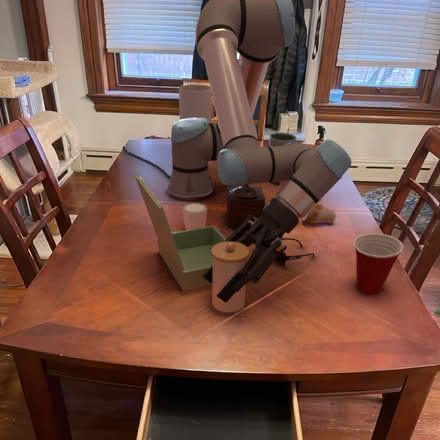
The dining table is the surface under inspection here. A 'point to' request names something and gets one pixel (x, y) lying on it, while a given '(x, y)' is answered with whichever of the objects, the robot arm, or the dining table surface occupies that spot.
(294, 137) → the grey pot
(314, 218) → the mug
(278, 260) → the sunglasses
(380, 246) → the plastic cup
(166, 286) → the dining table surface
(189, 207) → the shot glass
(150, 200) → the box lid
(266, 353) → the dining table surface
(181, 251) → the box
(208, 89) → the cylinder vase
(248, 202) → the brown manual coffee grinder
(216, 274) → the canister
